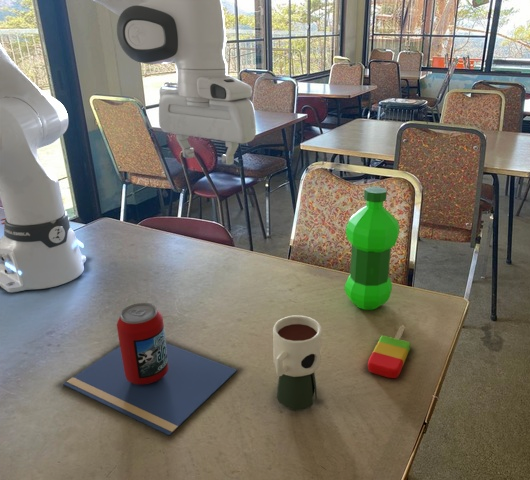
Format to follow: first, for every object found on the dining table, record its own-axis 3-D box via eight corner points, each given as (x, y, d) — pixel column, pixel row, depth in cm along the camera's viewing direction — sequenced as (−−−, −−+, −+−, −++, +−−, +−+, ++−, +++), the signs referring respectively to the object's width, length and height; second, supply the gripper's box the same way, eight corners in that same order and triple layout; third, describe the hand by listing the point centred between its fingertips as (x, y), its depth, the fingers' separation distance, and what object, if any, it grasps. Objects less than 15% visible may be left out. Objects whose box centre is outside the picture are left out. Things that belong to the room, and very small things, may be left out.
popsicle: (365, 372, 81) (366, 363, 80) (388, 326, 93) (389, 318, 93) (397, 381, 79) (398, 372, 78) (416, 333, 92) (417, 325, 91)
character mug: (299, 430, 69) (300, 356, 63) (257, 412, 72) (255, 340, 66) (332, 385, 78) (335, 316, 72) (294, 371, 80) (294, 304, 75)
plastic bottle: (338, 312, 98) (343, 195, 88) (349, 288, 107) (355, 179, 97) (387, 320, 95) (398, 201, 85) (394, 295, 105) (405, 184, 95)
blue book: (63, 384, 76) (62, 383, 76) (139, 333, 89) (139, 332, 89) (169, 435, 67) (169, 434, 67) (237, 370, 80) (237, 369, 80)
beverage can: (156, 391, 75) (147, 326, 70) (117, 384, 76) (105, 320, 71) (176, 364, 81) (169, 303, 76) (140, 358, 82) (130, 298, 77)
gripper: (146, 82, 88) (155, 156, 93) (238, 91, 80) (241, 172, 85) (171, 80, 93) (177, 150, 99) (259, 87, 85) (261, 164, 90)
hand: (208, 160), depth 92 cm, fingers open, 8 cm apart
